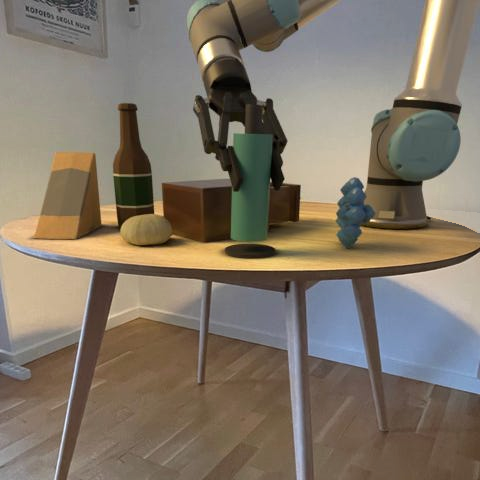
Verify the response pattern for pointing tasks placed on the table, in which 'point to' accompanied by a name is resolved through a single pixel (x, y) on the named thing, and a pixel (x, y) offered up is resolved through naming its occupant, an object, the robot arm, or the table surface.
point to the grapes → (352, 212)
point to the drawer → (285, 203)
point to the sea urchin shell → (146, 230)
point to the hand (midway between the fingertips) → (259, 185)
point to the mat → (250, 250)
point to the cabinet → (200, 208)
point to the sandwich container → (70, 198)
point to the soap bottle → (252, 179)
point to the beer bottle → (131, 170)
